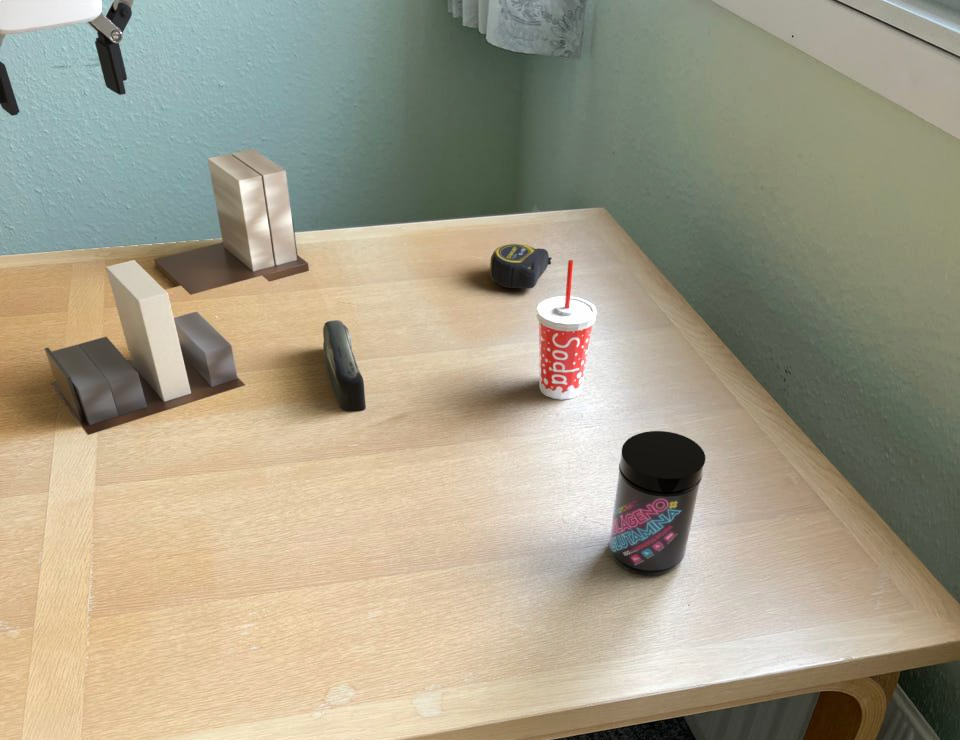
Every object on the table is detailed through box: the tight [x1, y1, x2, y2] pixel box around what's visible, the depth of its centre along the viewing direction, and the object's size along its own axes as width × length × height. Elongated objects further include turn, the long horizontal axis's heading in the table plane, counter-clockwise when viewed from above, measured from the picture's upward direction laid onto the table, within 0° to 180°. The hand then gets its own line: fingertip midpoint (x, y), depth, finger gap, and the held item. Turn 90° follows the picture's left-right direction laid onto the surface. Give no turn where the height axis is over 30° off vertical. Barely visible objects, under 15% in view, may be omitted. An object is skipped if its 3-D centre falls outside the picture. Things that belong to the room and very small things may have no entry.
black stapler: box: [322, 319, 367, 413], centre depth 102 cm, size 5×3×15 cm
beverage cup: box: [536, 259, 598, 401], centre depth 98 cm, size 6×6×14 cm
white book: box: [105, 259, 191, 402], centre depth 98 cm, size 3×9×11 cm, turn 35°
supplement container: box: [608, 430, 706, 576], centre depth 80 cm, size 7×7×10 cm
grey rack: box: [44, 311, 246, 436], centre depth 100 cm, size 17×12×6 cm
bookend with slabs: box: [153, 148, 310, 296], centre depth 119 cm, size 16×12×12 cm
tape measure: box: [489, 243, 553, 289], centre depth 120 cm, size 7×7×4 cm
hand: (64, 101), depth 86 cm, fingers open, 9 cm apart
